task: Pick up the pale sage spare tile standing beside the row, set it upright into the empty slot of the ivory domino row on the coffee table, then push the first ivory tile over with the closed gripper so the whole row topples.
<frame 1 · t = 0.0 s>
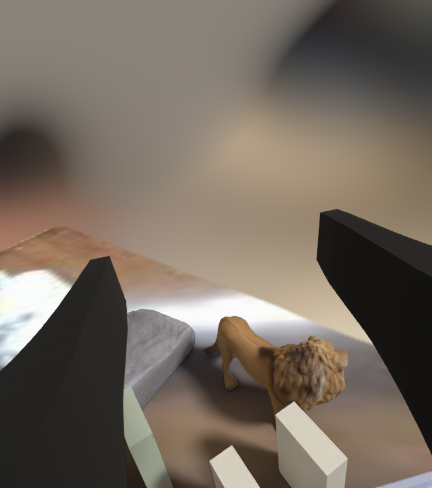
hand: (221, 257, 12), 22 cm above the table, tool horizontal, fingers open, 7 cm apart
stone block: (132, 368, 36), on the table
spare tile: (152, 467, 27), on the table
lion figurine: (268, 391, 32), on the table
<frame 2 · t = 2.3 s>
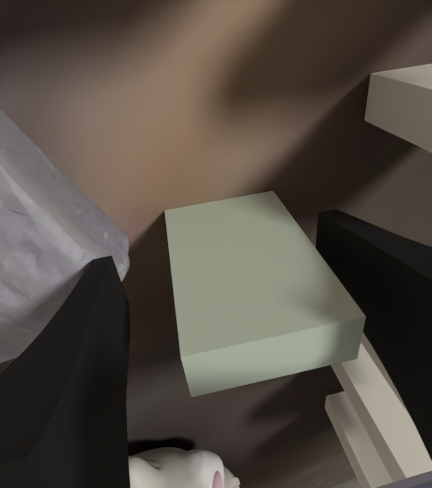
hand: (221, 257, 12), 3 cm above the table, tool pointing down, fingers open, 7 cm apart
cat figurine: (167, 458, 25), on the table
tile4: (378, 289, 18), on the table
tile6: (355, 394, 24), on the table
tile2: (423, 88, 12), on the table
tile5: (365, 349, 21), on the table
spare tile: (221, 217, 14), on the table
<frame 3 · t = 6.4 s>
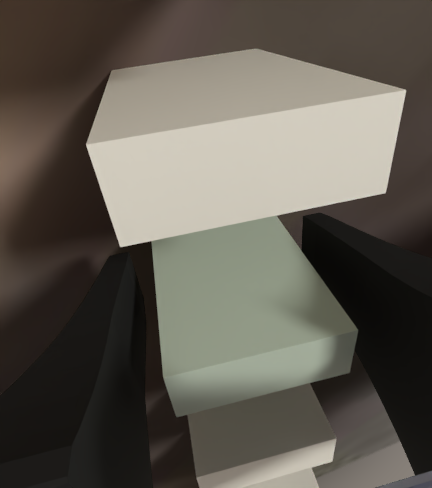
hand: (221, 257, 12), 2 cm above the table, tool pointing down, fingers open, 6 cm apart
tile4: (220, 311, 16), on the table
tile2: (189, 87, 11), on the table
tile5: (229, 373, 19), on the table
spare tile: (208, 223, 14), on the table
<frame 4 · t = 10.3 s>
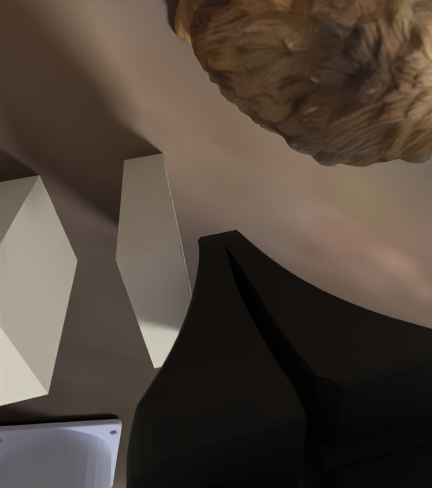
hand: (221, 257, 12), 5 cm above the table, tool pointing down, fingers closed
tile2: (41, 225, 15), on the table
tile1: (154, 203, 15), on the table, touching gripper
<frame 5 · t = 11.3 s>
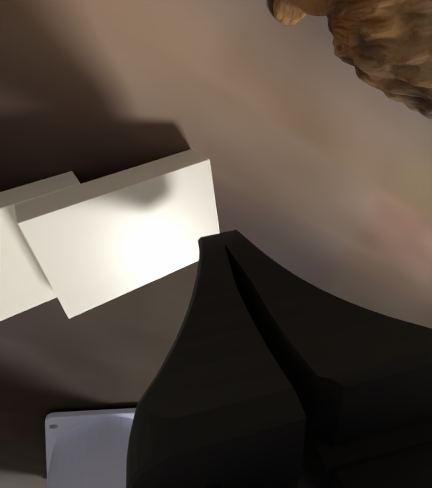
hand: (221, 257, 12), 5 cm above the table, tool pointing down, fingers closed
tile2: (94, 224, 15), point 1 cm above the table, tilted 71°, touching spare tile, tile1
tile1: (207, 201, 15), point 1 cm above the table, tilted 71°, touching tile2
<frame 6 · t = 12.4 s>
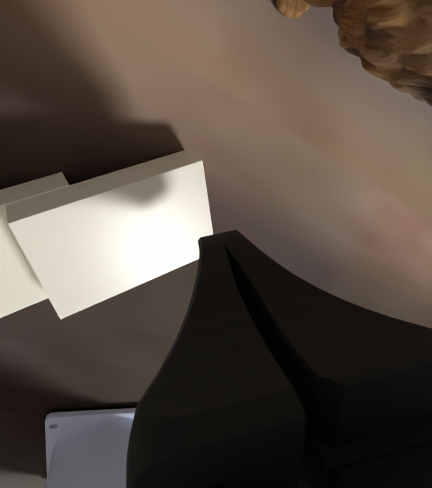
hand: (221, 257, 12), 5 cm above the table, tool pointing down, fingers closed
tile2: (84, 225, 15), point 1 cm above the table, tilted 72°, touching spare tile, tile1
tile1: (200, 202, 15), point 1 cm above the table, tilted 72°, touching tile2
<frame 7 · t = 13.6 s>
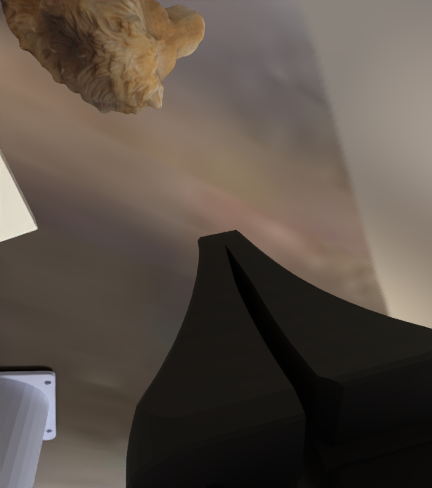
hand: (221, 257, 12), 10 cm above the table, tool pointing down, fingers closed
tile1: (18, 188, 18), point 1 cm above the table, tilted 72°, touching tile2
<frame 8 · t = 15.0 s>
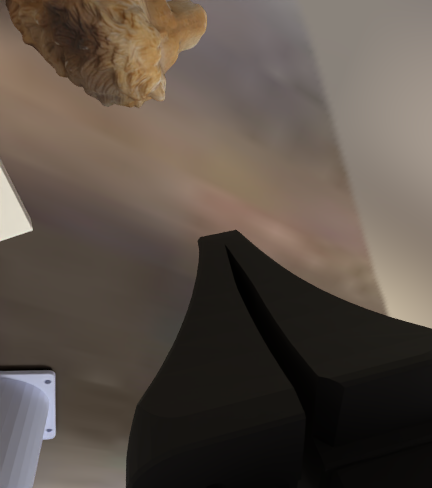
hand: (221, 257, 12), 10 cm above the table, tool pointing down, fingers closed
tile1: (14, 190, 18), point 1 cm above the table, tilted 72°, touching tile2
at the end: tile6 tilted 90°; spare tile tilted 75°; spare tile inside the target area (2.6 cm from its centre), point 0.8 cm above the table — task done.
